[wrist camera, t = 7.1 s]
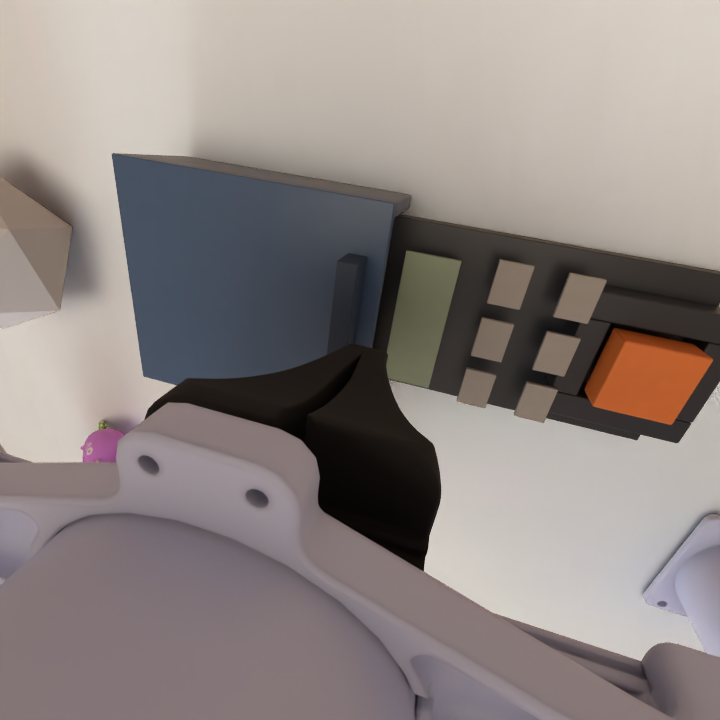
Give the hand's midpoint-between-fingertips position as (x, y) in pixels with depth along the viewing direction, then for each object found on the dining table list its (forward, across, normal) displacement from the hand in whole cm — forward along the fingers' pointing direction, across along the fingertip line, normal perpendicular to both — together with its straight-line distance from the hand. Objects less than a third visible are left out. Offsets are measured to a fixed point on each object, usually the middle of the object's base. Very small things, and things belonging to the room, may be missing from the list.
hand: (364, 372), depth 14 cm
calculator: (+8, -6, 0) cm, 10 cm away
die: (+8, +23, +1) cm, 25 cm away
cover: (+8, +6, 0) cm, 10 cm away
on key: (+6, -11, 0) cm, 13 cm away
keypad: (+6, -4, 0) cm, 7 cm away
